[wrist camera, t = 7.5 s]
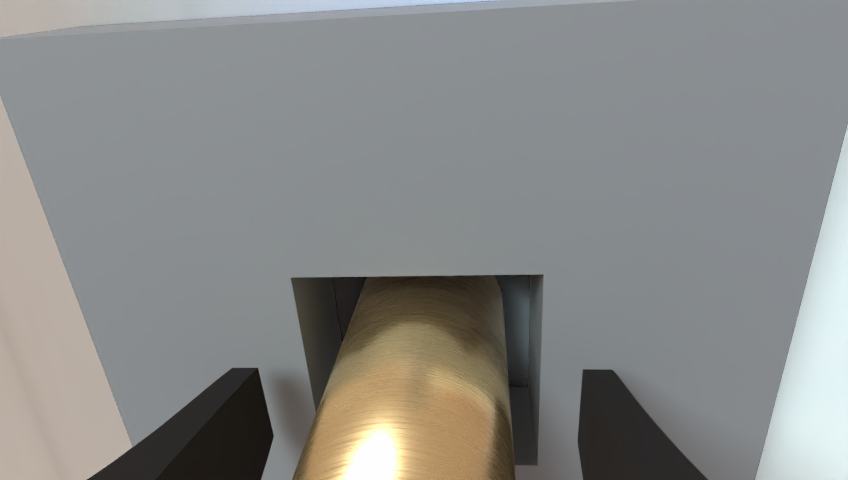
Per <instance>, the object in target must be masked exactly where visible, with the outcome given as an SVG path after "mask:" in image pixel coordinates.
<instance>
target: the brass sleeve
mask: <svg viewBox="0 0 848 480" xmlns="http://www.w3.org/2000/svg"><path fill="white" fill-rule="evenodd" d="M292 480H516V477H515V463H514V449H513V435H512V422H511V408H510V394H509V380H508V366H507V353H506V339H505V325H504V311H503V298H502V292H501V289H500V286H499V283H498V281H497V279H496V277H495V275H460V276H378V277H366V280H365V283H364V285H363V288H362V291H361V293H360V296H359V299H358V302H357V304H356V307H355V310H354V312H353V315H352V318H351V321H350V323H349V326H348V329H347V331H346V334H345V337H344V340H343V342H342V345H341V348H340V350H339V353H338V356H337V359H336V361H335V364H334V367H333V369H332V372H331V375H330V378H329V380H328V383H327V386H326V388H325V391H324V394H323V397H322V399H321V402H320V405H319V407H318V410H317V413H316V416H315V418H314V421H313V424H312V426H311V429H310V432H309V435H308V437H307V440H306V443H305V445H304V448H303V451H302V454H301V456H300V459H299V462H298V464H297V467H296V470H295V473H294V475H293V478H292Z"/></svg>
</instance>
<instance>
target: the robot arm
mask: <svg viewBox="0 0 848 480" xmlns="http://www.w3.org/2000/svg"><path fill="white" fill-rule="evenodd" d="M273 438H274V434H273V430H272V426H271V421H270V417H269V413H268V408H267V404H266V400H265V395H264V391H263V387H262V383H261V378H260V374H259V370H258V368H231V369H230V370H229V371H227V372H226V373H225V374H224V375H222V376H221V377H220V378H219V379H217V380H216V381H215V382H214V383H212V384H211V385H210V386H209V387H208V388H206V389H205V390H204V391H203V392H202V393H200V394H199V395H198V396H197V397H196V398H194V399H193V400H192V401H191V402H190V403H188V404H187V405H186V406H185V407H183V408H182V409H181V410H180V411H179V412H177V413H176V414H175V415H174V416H172V417H171V418H170V419H169V420H168V421H166V422H165V423H164V424H163V425H161V426H160V427H159V428H158V429H156V430H155V431H154V432H152V433H151V434H150V435H148V436H147V437H146V438H144V439H143V440H142V441H140V442H139V443H138V444H136V445H135V446H134V447H132V448H131V449H130V450H128V451H127V452H126V453H125V454H123V455H122V456H121V457H119V458H118V459H117V460H115V461H114V462H112V463H111V464H109V465H108V466H107V467H105V468H104V469H102V470H101V471H99V472H98V473H96V474H95V475H93V476H92V477H90V478H89V479H87V480H261V478H262V475H263V472H264V469H265V466H266V462H267V459H268V456H269V452H270V448H271V445H272V441H273ZM577 442H578V449H579V456H580V462H581V469H582V475H583V480H708V479H707V478H706V477H705V476H704V475H703V474H702V473H701V472H700V471H699V470H698V469H697V468H696V467H695V466H694V464H693V463H692V462H691V461H690V460H689V459H688V458H687V457H686V456H685V455H684V454H683V453H682V452H681V451H680V450H679V449H678V448H677V447H676V445H675V444H674V443H673V442H672V441H671V440H670V439H669V438H668V436H667V435H666V434H665V433H664V432H663V431H662V430H661V428H660V427H659V426H658V425H657V424H656V423H655V422H654V420H653V419H652V418H651V417H650V416H649V414H648V413H647V412H646V411H645V410H644V408H643V407H642V406H641V405H640V403H639V402H638V401H637V400H636V398H635V397H634V396H633V395H632V393H631V392H630V391H629V389H628V388H627V387H626V386H625V384H624V383H623V382H622V380H621V379H620V378H619V376H618V375H617V374H616V373H615V372H614V371H613V370H598V369H583V372H582V386H581V400H580V414H579V428H578V441H577Z"/></svg>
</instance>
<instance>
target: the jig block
mask: <svg viewBox="0 0 848 480" xmlns="http://www.w3.org/2000/svg"><path fill="white" fill-rule="evenodd" d="M0 96H1V98H2V101H3V104H4V106H5V109H6V112H7V114H8V117H9V120H10V122H11V125H12V128H13V130H14V133H15V136H16V138H17V141H18V144H19V146H20V149H21V152H22V154H23V157H24V160H25V162H26V165H27V167H28V170H29V173H30V175H31V178H32V181H33V183H34V186H35V189H36V191H37V194H38V197H39V199H40V202H41V205H42V207H43V210H44V213H45V215H46V218H47V221H48V223H49V226H50V229H51V231H52V234H53V237H54V239H55V242H56V244H57V247H58V250H59V252H60V255H61V258H62V260H63V263H64V266H65V268H66V271H67V274H68V276H69V279H70V282H71V284H72V287H73V290H74V292H75V295H76V298H77V300H78V303H79V306H80V308H81V311H82V314H83V316H84V319H85V321H86V324H87V327H88V329H89V332H90V335H91V337H92V340H93V343H94V345H95V348H96V351H97V353H98V356H99V359H100V361H101V364H102V367H103V369H104V372H105V375H106V377H107V380H108V383H109V385H110V388H111V391H112V393H113V396H114V398H115V401H116V404H117V406H118V409H119V412H120V414H121V417H122V420H123V422H124V425H125V428H126V430H127V433H128V436H129V438H130V441H131V444H132V446H133V447H134V446H135V445H136V444H138V443H139V442H140V441H142V440H143V439H144V438H146V437H147V436H148V435H150V434H151V433H152V432H154V431H155V430H156V429H158V428H159V427H160V426H161V425H163V424H164V423H165V422H166V421H168V420H169V419H170V418H171V417H172V416H174V415H175V414H176V413H177V412H179V411H180V410H181V409H182V408H183V407H185V406H186V405H187V404H188V403H190V402H191V401H192V400H193V399H194V398H196V397H197V396H198V395H199V394H200V393H202V392H203V391H204V390H205V389H206V388H208V387H209V386H210V385H211V384H212V383H214V382H215V381H216V380H217V379H219V378H220V377H221V376H222V375H224V374H225V373H226V372H227V371H229V370H230V369H231V368H258V370H259V374H260V378H261V383H262V387H263V391H264V395H265V400H266V404H267V408H268V413H269V417H270V421H271V426H272V430H273V434H274V438H273V441H272V445H271V448H270V452H269V456H268V459H267V462H266V466H265V469H264V472H263V475H262V478H261V480H292V478H293V475H294V473H295V470H296V467H297V464H298V462H299V459H300V456H301V454H302V451H303V448H304V445H305V443H306V440H307V437H308V435H309V432H310V429H311V426H312V424H313V421H314V418H315V416H316V413H317V410H318V407H319V405H320V402H321V399H322V397H323V394H324V391H325V388H326V386H327V383H328V380H329V378H330V375H331V372H332V369H333V367H334V364H335V361H336V359H337V356H338V353H339V350H340V348H341V345H342V340H341V333H340V326H339V320H338V313H337V306H336V299H335V293H334V286H333V279H332V277H378V276H460V275H530V315H529V362H528V387H509V394H510V408H511V422H512V435H513V449H514V463H515V477H516V480H583V475H582V469H581V462H580V456H579V449H578V442H577V441H578V428H579V414H580V400H581V386H582V372H583V369H598V370H613V371H614V372H615V373H616V374H617V375H618V376H619V378H620V379H621V380H622V382H623V383H624V384H625V386H626V387H627V388H628V389H629V391H630V392H631V393H632V395H633V396H634V397H635V398H636V400H637V401H638V402H639V403H640V405H641V406H642V407H643V408H644V410H645V411H646V412H647V413H648V414H649V416H650V417H651V418H652V419H653V420H654V422H655V423H656V424H657V425H658V426H659V427H660V428H661V430H662V431H663V432H664V433H665V434H666V435H667V436H668V438H669V439H670V440H671V441H672V442H673V443H674V444H675V445H676V447H677V448H678V449H679V450H680V451H681V452H682V453H683V454H684V455H685V456H686V457H687V458H688V459H689V460H690V461H691V462H692V463H693V464H694V466H695V467H696V468H697V469H698V470H699V471H700V472H701V473H702V474H703V475H704V476H705V477H706V478H707V479H708V480H755V478H756V474H757V470H758V466H759V462H760V458H761V455H762V451H763V447H764V443H765V439H766V435H767V431H768V428H769V424H770V420H771V416H772V412H773V408H774V405H775V401H776V397H777V393H778V389H779V385H780V382H781V378H782V374H783V370H784V366H785V362H786V359H787V355H788V351H789V347H790V343H791V339H792V335H793V332H794V328H795V324H796V320H797V316H798V312H799V309H800V305H801V301H802V297H803V293H804V289H805V286H806V282H807V278H808V274H809V270H810V266H811V263H812V259H813V255H814V251H815V247H816V243H817V239H818V236H819V232H820V228H821V224H822V220H823V216H824V213H825V209H826V205H827V201H828V197H829V193H830V190H831V186H832V182H833V178H834V174H835V170H836V167H837V163H838V159H839V155H840V151H841V147H842V144H843V140H844V136H845V132H846V128H847V124H848V0H496V1H480V2H464V3H448V4H432V5H417V6H401V7H385V8H369V9H353V10H337V11H321V12H305V13H289V14H273V15H257V16H241V17H225V18H209V19H193V20H177V21H161V22H145V23H129V24H113V25H97V26H81V27H73V28H66V29H59V30H51V31H44V32H37V33H30V34H22V35H15V36H8V37H1V38H0Z"/></svg>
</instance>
